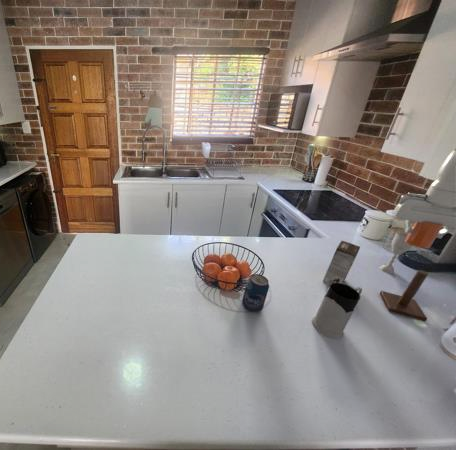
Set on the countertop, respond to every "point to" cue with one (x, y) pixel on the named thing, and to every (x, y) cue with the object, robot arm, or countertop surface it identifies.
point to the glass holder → (336, 309)
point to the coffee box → (341, 263)
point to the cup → (423, 234)
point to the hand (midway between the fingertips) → (422, 234)
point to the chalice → (396, 250)
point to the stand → (406, 299)
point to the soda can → (255, 293)
